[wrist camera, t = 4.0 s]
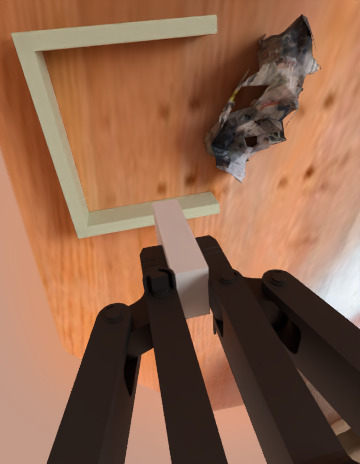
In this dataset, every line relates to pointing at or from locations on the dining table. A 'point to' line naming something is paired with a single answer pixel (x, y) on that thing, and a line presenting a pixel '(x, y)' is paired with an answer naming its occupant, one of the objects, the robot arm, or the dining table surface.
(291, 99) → the grey crumpled lump
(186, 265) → the robot arm
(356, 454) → the planter
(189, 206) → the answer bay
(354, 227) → the dining table surface
